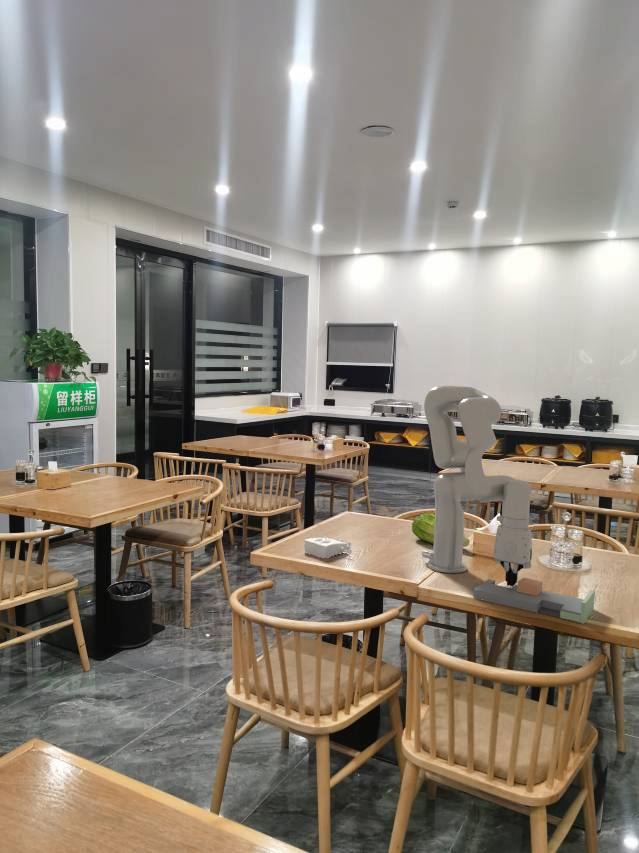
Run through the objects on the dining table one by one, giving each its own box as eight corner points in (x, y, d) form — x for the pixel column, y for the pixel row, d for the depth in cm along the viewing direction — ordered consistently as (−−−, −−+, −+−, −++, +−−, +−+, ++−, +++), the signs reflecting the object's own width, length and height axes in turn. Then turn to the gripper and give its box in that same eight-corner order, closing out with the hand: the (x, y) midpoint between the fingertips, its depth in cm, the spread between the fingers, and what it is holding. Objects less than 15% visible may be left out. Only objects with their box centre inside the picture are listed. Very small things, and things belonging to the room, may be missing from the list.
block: (517, 591, 182) (517, 581, 182) (522, 587, 187) (523, 577, 187) (536, 596, 179) (537, 585, 179) (541, 591, 184) (542, 581, 184)
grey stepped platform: (472, 597, 183) (474, 579, 183) (488, 585, 194) (489, 568, 194) (583, 623, 167) (585, 603, 166) (593, 609, 178) (595, 589, 177)
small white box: (364, 562, 223) (334, 563, 211) (323, 550, 236) (292, 550, 225) (368, 540, 223) (338, 539, 211) (326, 528, 237) (296, 527, 225)
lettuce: (452, 542, 224) (473, 518, 230) (402, 523, 243) (422, 501, 248) (462, 565, 230) (482, 541, 236) (412, 545, 249) (432, 523, 254)
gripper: (485, 521, 186) (481, 582, 187) (537, 529, 177) (533, 593, 179) (493, 516, 192) (490, 576, 193) (544, 524, 184) (540, 587, 185)
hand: (511, 584), depth 186 cm, fingers closed
